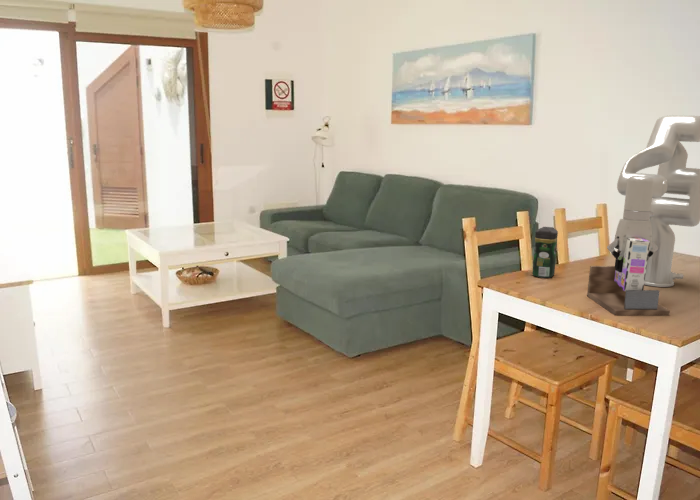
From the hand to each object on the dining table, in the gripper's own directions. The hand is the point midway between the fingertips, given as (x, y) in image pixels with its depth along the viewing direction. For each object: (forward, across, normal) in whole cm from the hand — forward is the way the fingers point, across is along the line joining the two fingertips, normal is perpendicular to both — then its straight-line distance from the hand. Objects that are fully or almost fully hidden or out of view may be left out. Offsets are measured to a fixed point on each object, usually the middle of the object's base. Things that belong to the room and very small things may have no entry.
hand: (629, 270), depth 188 cm
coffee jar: (+11, +14, -37) cm, 41 cm away
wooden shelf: (+11, 0, 0) cm, 11 cm away
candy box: (+5, 0, 0) cm, 5 cm away
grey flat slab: (+10, 0, +9) cm, 13 cm away
